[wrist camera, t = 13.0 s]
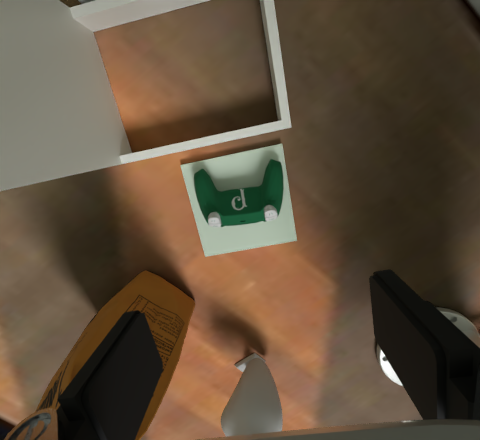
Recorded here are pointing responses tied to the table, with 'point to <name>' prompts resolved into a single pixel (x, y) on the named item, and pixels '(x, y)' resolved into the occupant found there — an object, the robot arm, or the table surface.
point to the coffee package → (161, 325)
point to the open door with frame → (84, 89)
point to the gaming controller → (241, 199)
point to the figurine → (253, 401)
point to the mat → (234, 177)
